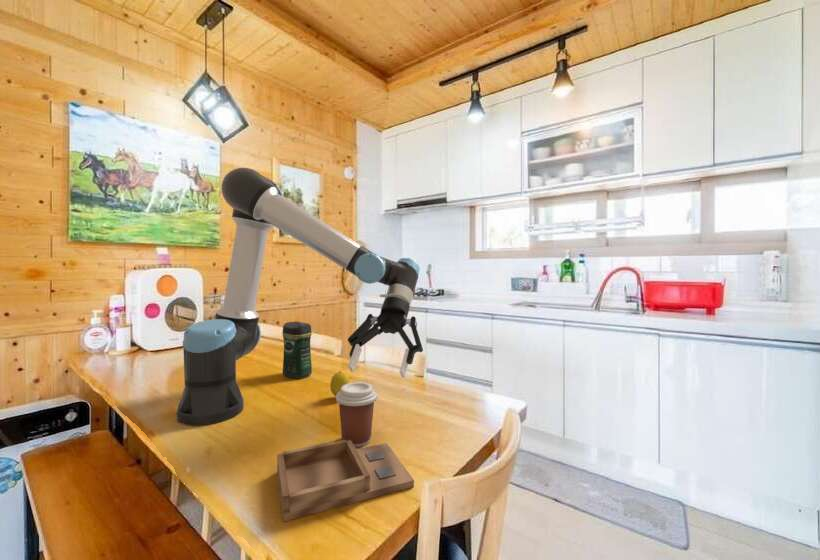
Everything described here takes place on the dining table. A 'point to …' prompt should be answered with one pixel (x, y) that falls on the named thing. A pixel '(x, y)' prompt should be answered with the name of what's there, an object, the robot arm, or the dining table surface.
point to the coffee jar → (297, 350)
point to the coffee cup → (356, 412)
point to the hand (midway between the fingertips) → (375, 372)
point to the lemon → (338, 382)
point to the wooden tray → (336, 476)
